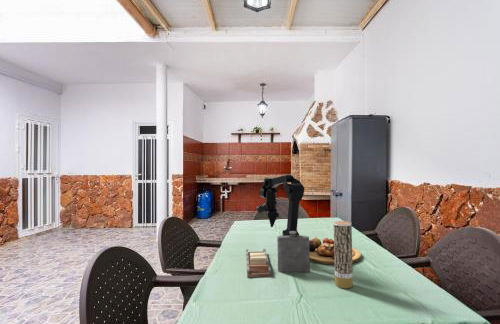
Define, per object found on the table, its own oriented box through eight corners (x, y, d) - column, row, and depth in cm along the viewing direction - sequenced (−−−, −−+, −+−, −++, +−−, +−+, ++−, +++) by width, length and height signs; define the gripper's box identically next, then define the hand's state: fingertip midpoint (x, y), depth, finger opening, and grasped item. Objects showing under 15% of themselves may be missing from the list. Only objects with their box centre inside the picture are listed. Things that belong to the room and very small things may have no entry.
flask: (278, 269, 127) (277, 230, 127) (309, 269, 126) (308, 230, 126) (278, 272, 124) (277, 232, 124) (310, 272, 122) (309, 232, 122)
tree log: (338, 280, 114) (337, 220, 114) (355, 284, 110) (353, 222, 110) (332, 286, 109) (330, 223, 109) (349, 290, 105) (347, 225, 105)
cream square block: (250, 263, 132) (249, 253, 132) (264, 262, 132) (264, 252, 132) (250, 269, 125) (250, 258, 125) (266, 268, 125) (265, 257, 125)
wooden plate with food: (367, 268, 126) (367, 250, 127) (297, 263, 133) (297, 246, 134) (356, 248, 158) (355, 234, 158) (300, 245, 165) (299, 231, 165)
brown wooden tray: (246, 254, 149) (246, 247, 149) (265, 253, 149) (265, 246, 149) (247, 277, 119) (247, 268, 119) (271, 276, 119) (270, 268, 119)
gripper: (256, 197, 164) (256, 223, 164) (257, 202, 145) (258, 231, 145) (274, 197, 164) (275, 223, 164) (278, 201, 146) (279, 231, 146)
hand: (271, 227), depth 155 cm, fingers closed
